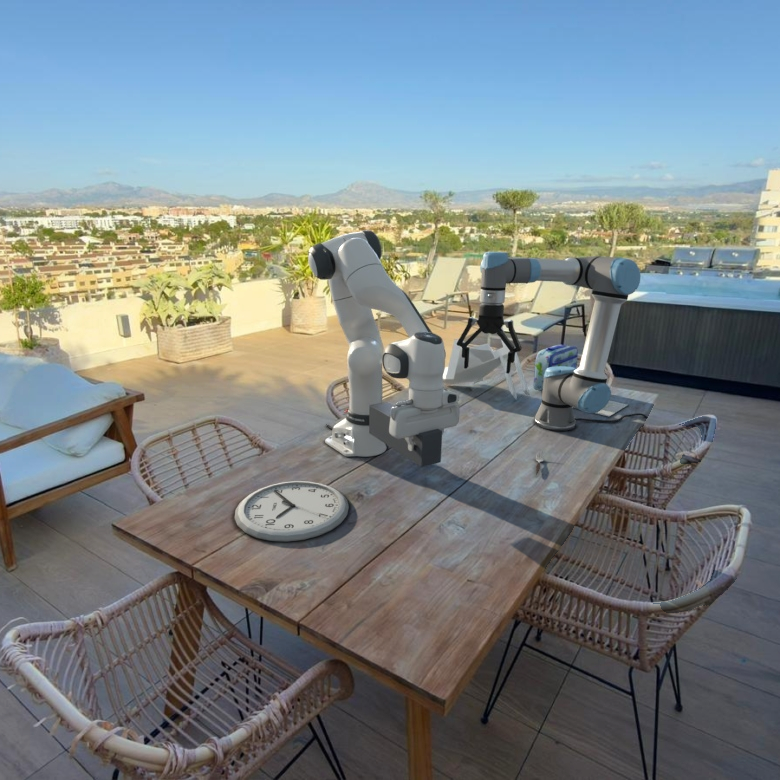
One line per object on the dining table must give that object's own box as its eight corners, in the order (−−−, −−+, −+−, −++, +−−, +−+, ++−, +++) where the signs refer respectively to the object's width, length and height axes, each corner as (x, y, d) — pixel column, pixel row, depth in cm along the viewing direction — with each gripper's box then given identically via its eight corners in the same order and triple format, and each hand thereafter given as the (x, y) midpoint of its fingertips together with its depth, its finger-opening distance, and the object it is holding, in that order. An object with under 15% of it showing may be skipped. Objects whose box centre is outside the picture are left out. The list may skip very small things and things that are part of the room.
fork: (531, 475, 162) (532, 469, 161) (536, 455, 176) (537, 450, 175) (540, 476, 161) (541, 471, 160) (544, 456, 175) (545, 451, 175)
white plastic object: (461, 429, 252) (437, 405, 227) (444, 352, 274) (420, 323, 250) (535, 404, 240) (518, 377, 215) (510, 326, 262) (492, 293, 237)
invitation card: (608, 416, 214) (573, 407, 224) (608, 416, 214) (573, 408, 224) (628, 404, 229) (594, 396, 238) (628, 405, 229) (594, 397, 238)
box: (369, 433, 155) (369, 404, 152) (386, 429, 158) (387, 401, 156) (421, 467, 134) (422, 435, 131) (440, 462, 137) (442, 430, 134)
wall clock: (349, 533, 127) (222, 537, 124) (349, 539, 127) (223, 543, 125) (348, 477, 155) (245, 479, 153) (348, 481, 156) (245, 484, 153)
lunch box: (550, 397, 237) (555, 352, 231) (529, 391, 245) (533, 348, 238) (577, 386, 255) (582, 344, 249) (556, 381, 262) (561, 340, 256)
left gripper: (398, 407, 125) (397, 460, 129) (464, 394, 135) (461, 443, 140) (384, 399, 130) (384, 451, 134) (449, 387, 140) (446, 435, 145)
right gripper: (449, 302, 162) (446, 368, 169) (531, 308, 154) (524, 377, 160) (455, 299, 169) (452, 363, 175) (534, 304, 160) (528, 371, 167)
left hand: (424, 447), depth 137 cm, fingers closed on box, 6 cm apart
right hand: (486, 370), depth 168 cm, fingers open, 13 cm apart
